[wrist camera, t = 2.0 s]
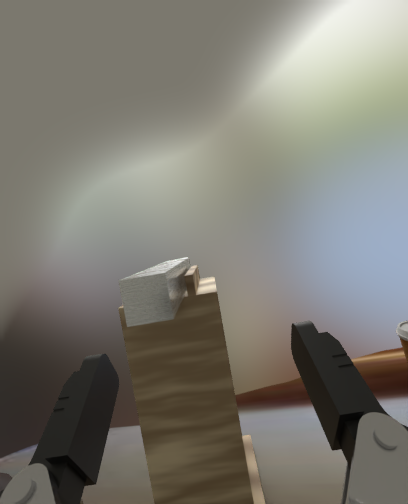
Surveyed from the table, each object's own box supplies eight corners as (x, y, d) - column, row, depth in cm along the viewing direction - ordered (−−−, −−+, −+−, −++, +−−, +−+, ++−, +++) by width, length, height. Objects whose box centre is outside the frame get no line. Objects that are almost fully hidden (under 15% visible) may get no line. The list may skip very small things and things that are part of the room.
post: (277, 561, 29) (226, 269, 29) (150, 579, 30) (96, 292, 29) (251, 445, 46) (219, 260, 46) (171, 457, 47) (138, 274, 46)
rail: (173, 319, 21) (165, 272, 21) (127, 327, 21) (118, 280, 21) (192, 278, 47) (188, 257, 47) (171, 281, 47) (167, 260, 47)
